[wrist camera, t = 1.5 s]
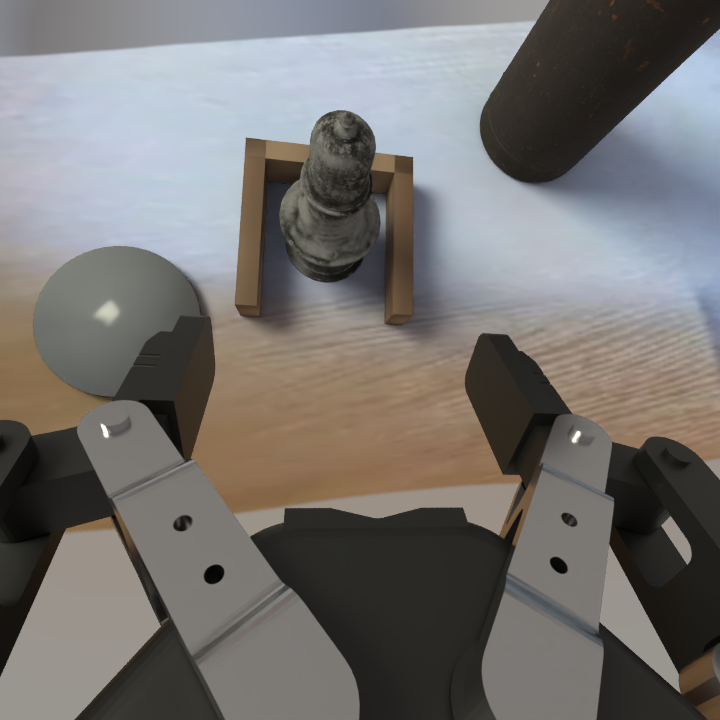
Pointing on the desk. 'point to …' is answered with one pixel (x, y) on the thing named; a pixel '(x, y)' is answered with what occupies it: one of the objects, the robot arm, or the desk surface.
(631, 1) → the container
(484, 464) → the desk surface
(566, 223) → the desk surface
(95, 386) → the grey oval disc
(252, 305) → the wooden arch
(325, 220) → the stone finial
